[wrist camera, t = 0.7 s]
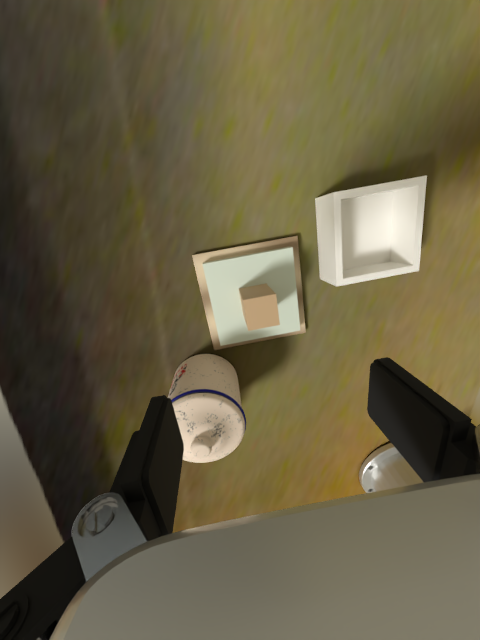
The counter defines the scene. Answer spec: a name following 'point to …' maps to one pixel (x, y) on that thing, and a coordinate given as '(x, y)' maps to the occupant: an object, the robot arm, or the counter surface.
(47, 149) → the counter surface
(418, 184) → the white open square tray
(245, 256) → the lid
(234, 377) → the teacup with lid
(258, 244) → the mat
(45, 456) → the counter surface
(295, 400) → the counter surface
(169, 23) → the counter surface
